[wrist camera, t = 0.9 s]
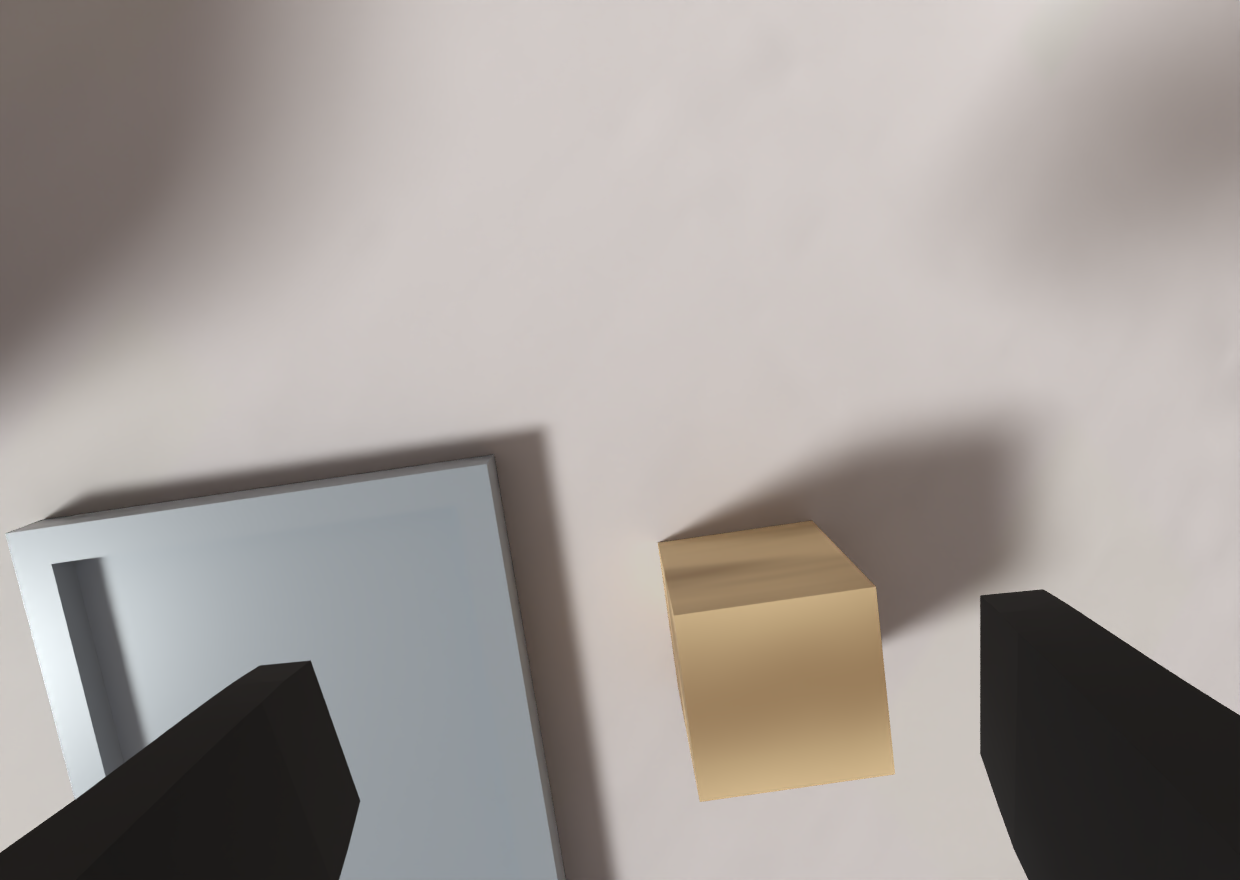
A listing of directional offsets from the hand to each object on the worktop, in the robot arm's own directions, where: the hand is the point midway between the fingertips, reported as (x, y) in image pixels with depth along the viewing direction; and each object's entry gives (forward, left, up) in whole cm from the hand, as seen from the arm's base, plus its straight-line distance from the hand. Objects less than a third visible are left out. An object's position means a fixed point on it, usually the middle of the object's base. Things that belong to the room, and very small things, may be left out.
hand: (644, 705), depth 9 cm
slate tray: (-8, +10, -15) cm, 20 cm away
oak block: (-5, -3, -15) cm, 16 cm away
